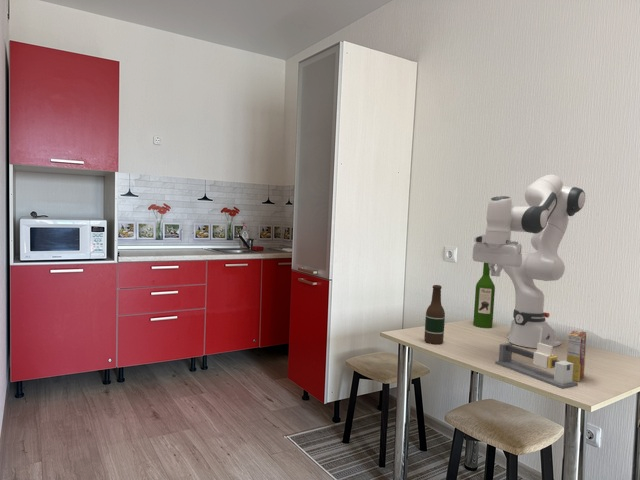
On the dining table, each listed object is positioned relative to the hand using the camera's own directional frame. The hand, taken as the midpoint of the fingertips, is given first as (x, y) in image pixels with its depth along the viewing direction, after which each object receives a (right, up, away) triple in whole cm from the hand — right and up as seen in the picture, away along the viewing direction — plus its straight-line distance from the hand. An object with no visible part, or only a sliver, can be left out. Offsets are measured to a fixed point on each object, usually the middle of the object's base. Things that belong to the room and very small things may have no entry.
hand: (495, 276), depth 173 cm
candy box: (+21, -33, -17) cm, 43 cm away
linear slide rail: (+8, -32, -15) cm, 36 cm away
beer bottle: (-18, -29, +20) cm, 40 cm away
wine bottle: (+14, -29, +54) cm, 63 cm away
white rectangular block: (+9, -29, -18) cm, 35 cm away
